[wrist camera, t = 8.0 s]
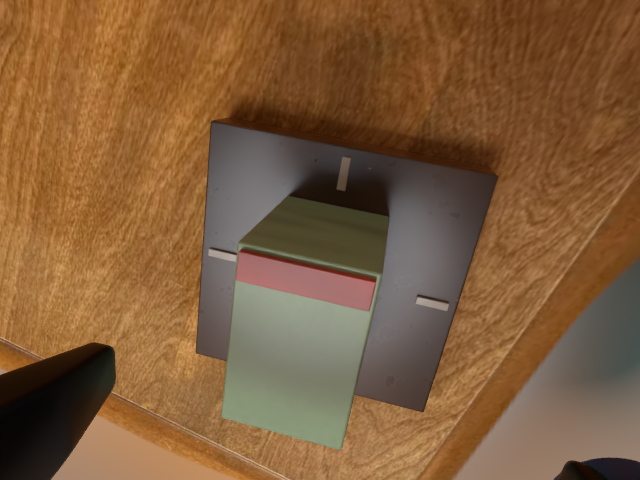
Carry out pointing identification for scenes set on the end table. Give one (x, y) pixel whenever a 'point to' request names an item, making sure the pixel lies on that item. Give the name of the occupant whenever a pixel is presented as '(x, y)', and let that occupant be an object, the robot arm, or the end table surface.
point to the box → (302, 318)
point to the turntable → (359, 194)
